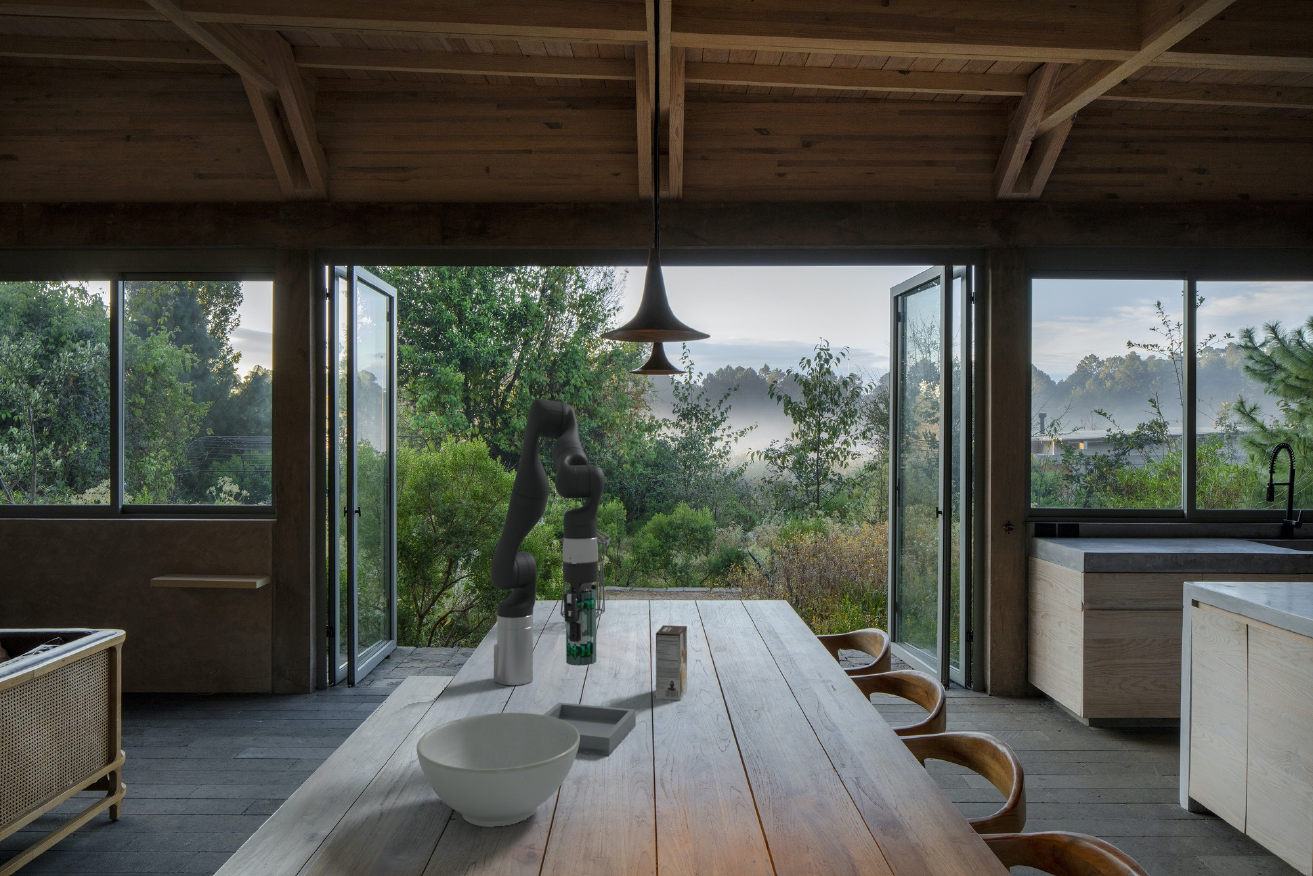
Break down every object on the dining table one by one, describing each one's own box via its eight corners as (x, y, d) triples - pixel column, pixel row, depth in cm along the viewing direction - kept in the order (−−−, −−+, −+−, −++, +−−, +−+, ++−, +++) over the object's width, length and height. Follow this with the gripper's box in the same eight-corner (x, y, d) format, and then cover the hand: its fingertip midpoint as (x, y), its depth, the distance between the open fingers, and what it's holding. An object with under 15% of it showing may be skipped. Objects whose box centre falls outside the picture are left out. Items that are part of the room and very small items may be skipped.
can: (562, 664, 172) (561, 592, 172) (574, 657, 178) (574, 588, 178) (588, 666, 170) (587, 593, 170) (600, 659, 176) (599, 589, 176)
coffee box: (662, 688, 207) (662, 624, 207) (687, 689, 205) (687, 625, 206) (655, 699, 198) (655, 632, 198) (681, 701, 196) (681, 633, 197)
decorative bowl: (432, 780, 149) (433, 714, 150) (580, 776, 152) (580, 710, 152) (399, 853, 123) (399, 772, 123) (578, 846, 125) (579, 767, 125)
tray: (525, 746, 166) (525, 729, 166) (558, 718, 184) (558, 702, 184) (609, 755, 162) (609, 737, 162) (635, 725, 179) (635, 709, 179)
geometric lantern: (565, 620, 286) (569, 520, 287) (610, 623, 284) (613, 522, 285) (554, 630, 271) (557, 523, 271) (600, 632, 268) (604, 525, 269)
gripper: (575, 554, 182) (576, 630, 182) (551, 562, 168) (551, 644, 168) (607, 555, 180) (608, 631, 180) (585, 563, 166) (586, 646, 166)
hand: (580, 637), depth 174 cm, fingers closed on can, 6 cm apart
